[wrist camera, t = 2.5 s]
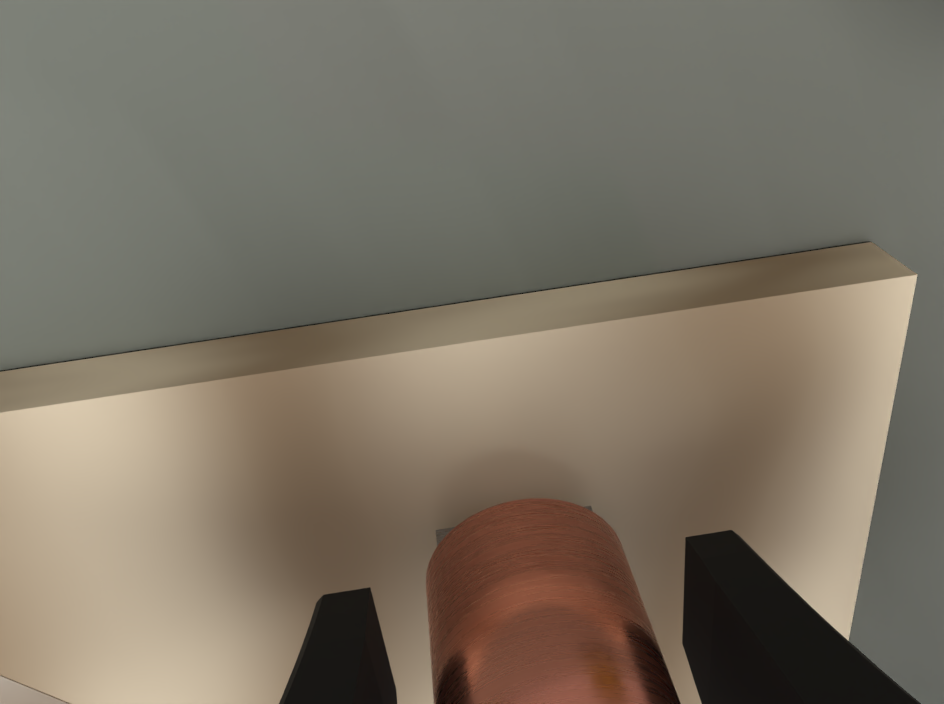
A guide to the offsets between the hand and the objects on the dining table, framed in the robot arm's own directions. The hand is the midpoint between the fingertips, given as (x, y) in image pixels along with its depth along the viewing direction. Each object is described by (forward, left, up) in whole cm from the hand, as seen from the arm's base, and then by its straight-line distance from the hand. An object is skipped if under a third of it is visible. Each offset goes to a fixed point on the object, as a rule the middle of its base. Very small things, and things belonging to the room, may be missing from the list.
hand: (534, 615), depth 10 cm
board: (+4, +8, -3) cm, 10 cm away
